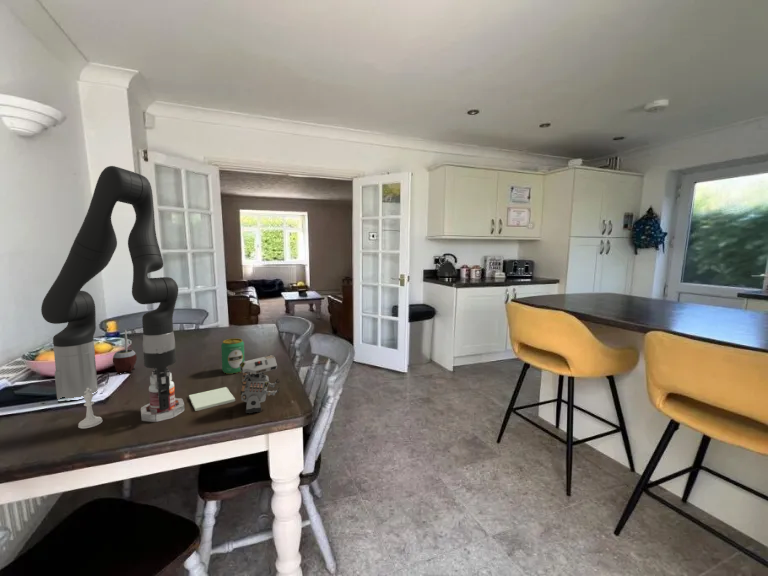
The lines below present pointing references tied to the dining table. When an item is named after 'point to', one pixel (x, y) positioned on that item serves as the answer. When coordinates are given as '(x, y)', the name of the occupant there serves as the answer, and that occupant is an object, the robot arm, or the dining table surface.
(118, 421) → the dining table surface
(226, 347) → the beverage can
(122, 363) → the mate gourd
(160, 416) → the steel collar
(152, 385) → the pill bottle
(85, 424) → the chess piece
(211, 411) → the dining table surface
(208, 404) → the sage pad
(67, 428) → the dining table surface
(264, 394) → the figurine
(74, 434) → the dining table surface
